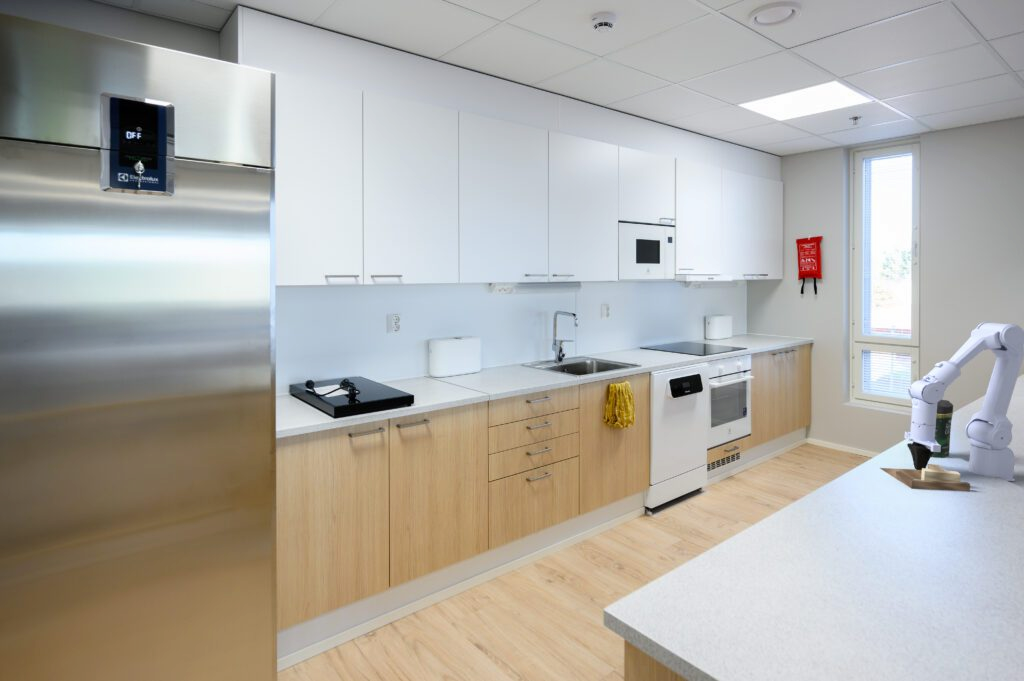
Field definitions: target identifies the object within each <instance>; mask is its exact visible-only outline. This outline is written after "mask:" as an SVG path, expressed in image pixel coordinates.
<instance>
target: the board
mask: <svg viewBox="0 0 1024 681" xmlns="http://www.w3.org/2000/svg"><path fill="white" fill-rule="evenodd" d="M879 469H880V470H881V471H883V472H885V473H887V474H888V475H890V476H891V477H893V478H894V479H896V480H897V481H899V482H900V483H902V484H904V485H905V486H906V487H908V488H910V489H911V490H912V489H915V490H930V491H932V490H934V491H954V492H970V491H971V483H970V482H968V481H960V482H952V481H930V480H921V474H922V470H916V469H915V468H913V469H911V468H890V467H889V468H888V467H879Z"/></svg>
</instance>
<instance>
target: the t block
mask: <svg viewBox="0 0 1024 681" xmlns="http://www.w3.org/2000/svg"><path fill="white" fill-rule="evenodd" d="M961 477H962V476H961V473H959V472H958V471H955V470H945V469H944V468H943V467H941V466H940V465H939V464H934V463H933V464H931V463H928V464H927V468H926V469H925V468H922V474H921V480H930V481H952V482H961Z"/></svg>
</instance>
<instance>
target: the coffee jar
mask: <svg viewBox="0 0 1024 681" xmlns="http://www.w3.org/2000/svg"><path fill="white" fill-rule="evenodd" d="M953 414H954V405H953V403H952V402H950V401H949V400H948V399H947V400H946V399H942V400H940V401H939V402H937V414H936V427H935V440H936V441H937V443H938V444H939V445H941V452H934V453H933V455H932V456H931V458H935V459H942V458H946V457H950V447H951V446H950V444H951V431H952V420H953V419H952V418H953Z"/></svg>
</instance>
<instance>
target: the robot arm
mask: <svg viewBox="0 0 1024 681" xmlns="http://www.w3.org/2000/svg"><path fill="white" fill-rule="evenodd" d="M985 350H990V351H991V352H992V353H993V354H994V355H995V357H996V359H995V363H994V367H993V370H992V373H991V376H990V378H989V379H990V380H989V383H988V387H987V389H986V393H985V396H984V400H983V403H982V407H981V409H980V410H979V411H977V412H974V414H972V415H971V419H970V420H969V422H967V424H966V426H965V428H964V433H965V436H966V437H967V439H969V441H968V443H970V450H969V462H968V471H969V472H970V473H972V474H976V475H978V476H979V475H980V476H985V477H990V478H991V477H993V478H995V477H997V478H1001V479H1003V480H1004V481H1007V482H1015V481H1016V479H1015V478H1014V473H1015V472H1014V471H1015V462H1016V461H1015V460H1016V459H1015V454H1014V451H1013V450H1012V449H1011V448H1010V447H1009V445H1010V444H1011V442H1012V440H1013V434H1012V433H1013V432H1012V429H1013V426H1014V424H1013V423H1012V422H1011V421H1010V420H1009V418H1008V416H1007V413H1008V410H1009V407H1010V403H1011V401H1012V396H1013V393H1014V390H1015V386H1016V383H1017V380H1018V377H1019V373H1020V370H1021V368H1022V365H1023V364H1022V363H1023V362H1024V361H1023V360H1024V329H1023V328H1022V327H1021V326H1020V325H1018V324H1016V323H999V322H991V321H983V322H981V323H979V324H978V325H977V326H976V327H975V328H974V329H972V331H971V332H970V337H969V338H968V339H967V340H966V341H965V343H963V344H962V346H961V347H960V348H959V349H958V350H957V351H956V352H955V353H954V354H953V355H952V356H951V358H950V359H949V360H942V361H940V362H937V363H935V364H934V367H933V368H932V370H930V371H929V372H928V373H927V374H926V375H924V376H923V377H922V378H921V379H919V380H915V381H914V382H913V383H911V385H910V387H909V388H908V389H907V393H908V395H909V397H910V399H911V404H912V406H911V416H910V431H904V439H905V440H906V441H909V442H912V443H907V444H906V445H907V448H908V449H909V452H910V455H911V458H912V461H913V466H914V467H913V469H916V470H922V468H925V469H927V467H928V464H929V461H930V460H931V458H932V457H931V456H932V455H933V453H934V452H941V445H939V444H938V443H937V441H936V440H935V427H936V414H937V402H939V401H940V400H943V399H944V396H945V392H946V390H947V388H948V387H949V386H950V385H952V384H953V383H954V382H955V381H956V380H957V379H958V378H959V377H960V376H961V374H962V371H961V370H962V368H963V367H964V366H966V365H968V363H969V362H971V361H972V360H973V359H974V358H976V357H977V356H978V355H979V354H981V353H982V352H983V351H985Z"/></svg>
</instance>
